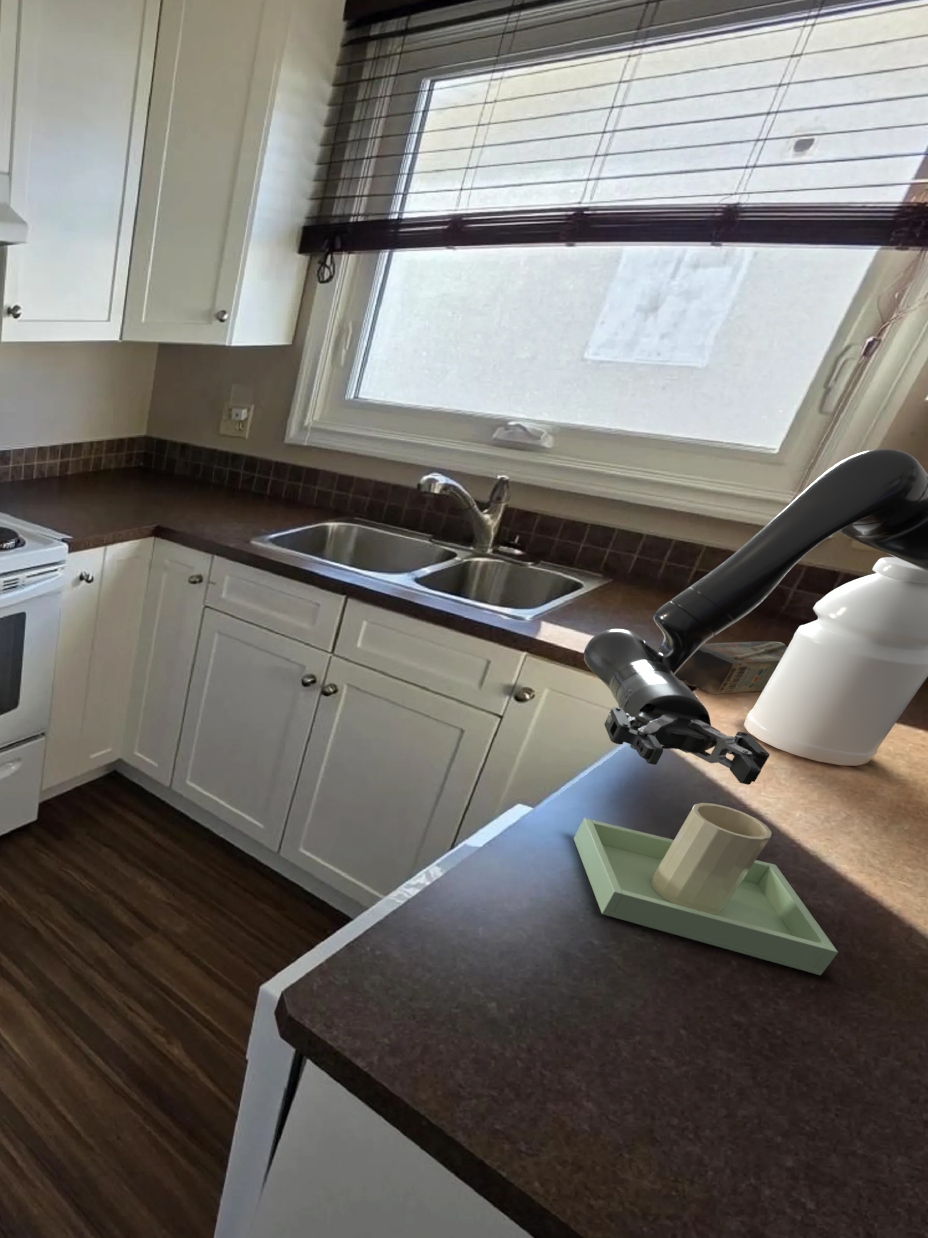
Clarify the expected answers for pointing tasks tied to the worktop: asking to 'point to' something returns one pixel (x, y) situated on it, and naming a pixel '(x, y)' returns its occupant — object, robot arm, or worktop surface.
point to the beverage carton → (732, 666)
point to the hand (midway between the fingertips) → (702, 767)
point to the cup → (709, 857)
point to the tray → (749, 924)
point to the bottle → (849, 669)
